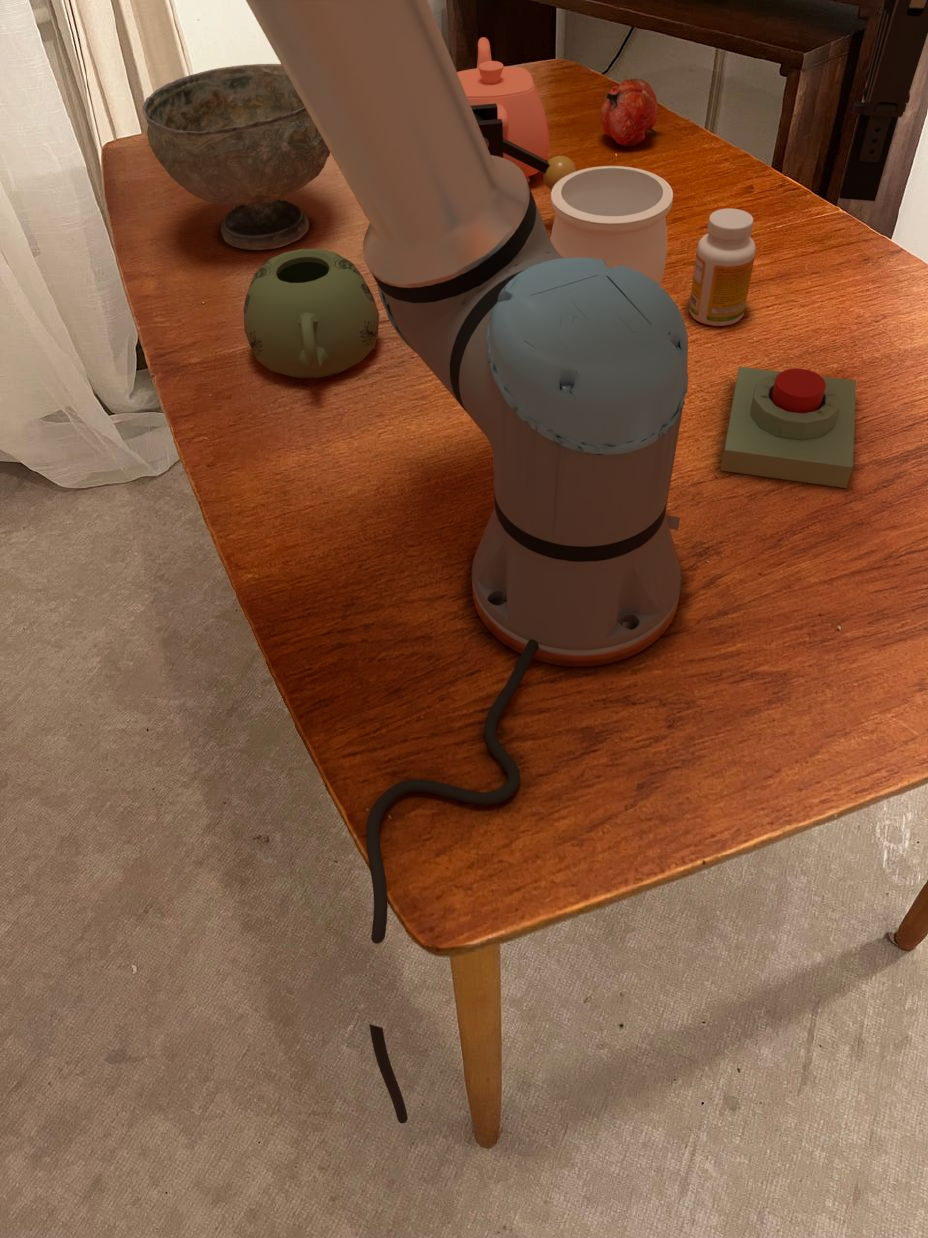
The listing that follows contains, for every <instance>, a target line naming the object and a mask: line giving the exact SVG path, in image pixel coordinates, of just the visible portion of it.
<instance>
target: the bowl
mask: <svg viewBox="0 0 928 1238" xmlns="http://www.w3.org/2000/svg"><path fill="white" fill-rule="evenodd" d="M142 114H143V117H144V119H145V120H146V124H147V130H146V135H147V139H148V143H149V145H150V148H151V151H152V153H153V154H154V156H155V158H156V159H157V161H158V162H159V164H160V165H161V166H162V167H163V169H164V170H165V172H167V174H168V175H169V177H170V178H171V179H173V181H175V182H176V183H177V184H178V185H180V187H182V188H183V189H185V191H187V193H189V194H191V195H193V196H194V197H196V198H198V199H201V200H203V201H205V202H208V203H211V204H215V205H217V206H234V208H233V209H232V210H231V211H230V212H228V213H227V215H226V216H225V217H224V218H223V220H222V223H221V226H220V232H221V235H222V238H223V240H224V242H225V243H227V244H228V245H230V246H232V247H233V248H238V249H241V250H246V251H247V250H248V251H263V250H272V249H278V248H282V247H284V246H287V245H289V244H292V243H294V242H297V241H299V240H301V238H302V237H303V236H305V235H306V234H307V232H308V231H309V227H310V225H309V224H310V223H309V219H308V217H307V215H306V213H305V212H304V211H303V210H302V209H301V208H300V207H299V206H298V205H295V204H294V203H292V202H290V201H287V200H284V198H286V197H287V196H289V195H292V194H294V193H296V192H297V191H300V190H301V189H303V188H304V187H306V186H307V185H308V184H309V183H310V182H312V181H313V180H314V179H316V178H317V177H318V176H320V174H321V173H322V171H323V169H324V168H325V165H326V163H327V160H328V158H329V157H330V155H331V152H330V151H329V149H328V147H327V145H326V143H325V142H324V140H323V138H322V136H321V134H320V133H319V131H318V129H317V127H316V126H315V124H314V122H313V120H312V118H311V117H310V115H309V113H308V111H307V109H306V108H305V106H304V104H303V102H302V100H301V99H300V97H299V95H298V93H297V91H296V90H295V88H294V86H293V84H292V82H291V81H290V79H289V77H288V75H287V73H286V72H285V70H284V68H283V66H282V64H281V63H253V64H240V65H231V66H225V67H218V68H212V69H208V70H204V71H201V72H198V73H194V74H190V75H186V76H183V77H181V78H178V79H176V80H174V81H172V82H171V81H170V82H167V83H166V84H164V85H162V86H161V87H159V88H157V89H156V90H154V91H153V92H152V93H151V94H150V96H148V97H146V99H145V101H144V102H143V104H142Z"/></svg>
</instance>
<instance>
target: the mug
mask: <svg viewBox="0 0 928 1238" xmlns="http://www.w3.org/2000/svg"><path fill="white" fill-rule="evenodd" d="M379 325H380V313H379V310H378V307H377V303H376V300H375V298H374V294H373V292H372V291H371V289H370V287H369V286H368V283H367V282H366V280H365V278H364V277H363V275H362V273H361V272H360V270H359V269H358V268H357V266H356V265H355V264H354V263H353V262H351V261H350V260H349V259H347V258H345V257H343V256H342V255H340V254H339V253H337V252H335V251H331V250H327V249H322V248H299V249H295V250H290V251H285V252H283V253H280V254H278V255H276V256H274V257H271V258H270V259H268V260H266V262H265V263H264V264H262V265H261V266H260V267H259V268H258V269H257V270H256V271H255V273H254V274H253V276H252V279H251V280H250V284H249V286H248V290H247V292H246V296H245V300H244V305H243V329H244V333H245V336H246V338H247V339H246V340H247V341H248V345H249V346H250V349H251V351H252V353H253V355H254V357H255V359H256V361H257V362H259V364H261V365H262V366H264V367H265V368H267V369H268V370H269V371H271V372H273V373H276V374H277V373H278V374H281V375H284V376H288V377H292V378H296V379H320V378H325V377H328V376H329V377H330V376H333V375H338V374H340V373H343V372H344V371H346V370H349V369H351V368H352V367H354V366H356V365H357V364H359V363H360V362H362V361H364V359H365V358H366V357H367V356H368V355H369V354H370V353H371V351H372V350H373V349H374V348H375V347H376V344H377V339H378V335H379Z"/></svg>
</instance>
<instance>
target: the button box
mask: <svg viewBox="0 0 928 1238" xmlns="http://www.w3.org/2000/svg"><path fill="white" fill-rule="evenodd" d="M781 372H782V370H781V371H779V370H771V369H763V368H756V367H755V368H754V367H746V366H738V369H737V374H736V379H735V383H734V384H735V385H734V389H733V396H732V401H731V408H730V413H729V419H728V425H727V431H726V436H725V441H724V448H723V454H722V459H721V466H720V471H722V472H728V473H735V474H742V475H744V474H745V475H750V476H758V477H764V478H771V479H772V478H773V479H778V480H785V481H793V482H799V483H807V484H812V485H813V484H814V485H819V486H828V487H833V488H834V487H835V488H840V489H841V488H842V489H847V487H848V485H849V481H850V478H851V476H852V472H853V469H854V454H855V453H854V452H855V451H854V450H855V425H856V396H857V380H856V379H847V378H838V377H831V376H822V375H820V376H821V377H822V378H823V379H824V380H825V383H826V388H825V392H824V395H823V399H822V403H821V405H820V407H819V408H818V409H817V410H816V411H813V412H808V413H803V414H802V413H794V412H787V411H785V410H783V409H781V408H779V407H777V406H775V404H774V403H773V401H772V392H773V388H774V383H775V379H776V377H777V375H778V374H779V373H781Z"/></svg>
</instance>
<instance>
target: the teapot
mask: <svg viewBox="0 0 928 1238" xmlns="http://www.w3.org/2000/svg"><path fill="white" fill-rule="evenodd" d="M491 53H492V52H491V44H490V41H489V38H487V37H484V36H482V37H480V38H479V39H478V41H477V63H476V68H470V69H464V70H460V71H456V72H457V74H458V77H459V79H460V81H461V84H462V86H463V89H464V91H465V94H466V96H467V99H468V101H469V104H470V106H472V105H484V104H495V103H496V104H497V107H498V119H502V122H503V138H504V139H506V140H508V141H510V142H512V143H514V144H516V145H518V146H520V147H522V148H524V149H526V150H528V151H529V152H531V153H533V154H535V155H537V156H539V157H541V158H543V159H545V160H547V159H548V158H549V154H550V136H549V127H548V126H549V125H548V120H547V116H546V111H545V108H544V105H543V101H542V99H541V96H540V94H539V91H538V89H537V86H536V84H535V81H534V79H533V77H532V76H531V73H530V72H529V71H528V70H527V69H526V68H523V67H522V66H521V67H520V66H504V63H503V62H500V61H497V60H493V59H492V54H491ZM503 158H504V159H507V160H509V161H511V162H513V163H514V164H515V165H517V166H518V167H519V168H520V169H521V170H522V172H523V173H524V175H525V177H526V180H527V182H528V184H529V183H530V181H531V179H530V177H531V176H534V175H536V174H537V173H538V174H539V172H540V171H539V170H537V169H535V168H533V167H531V166H529V165H527V164H525V163H523V162H521V161H519V160H517V159H515V158H513V157H511V156H509V155H507V154H505V153H503Z"/></svg>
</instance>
